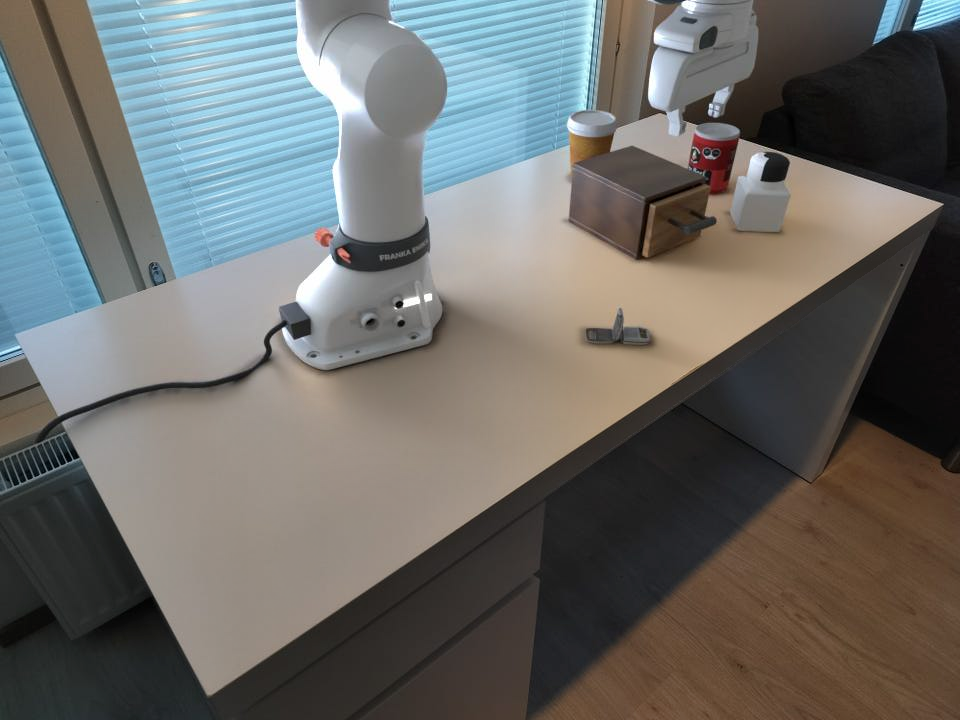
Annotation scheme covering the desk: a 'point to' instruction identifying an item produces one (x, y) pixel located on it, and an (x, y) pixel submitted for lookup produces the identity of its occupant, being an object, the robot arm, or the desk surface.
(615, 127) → the disposable coffee cup
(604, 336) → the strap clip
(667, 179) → the cabinet
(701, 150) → the canned food
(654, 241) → the drawer
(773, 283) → the desk surface
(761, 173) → the medicine bottle
